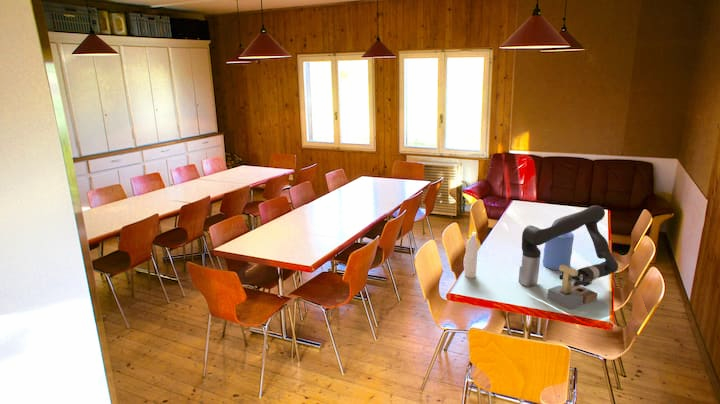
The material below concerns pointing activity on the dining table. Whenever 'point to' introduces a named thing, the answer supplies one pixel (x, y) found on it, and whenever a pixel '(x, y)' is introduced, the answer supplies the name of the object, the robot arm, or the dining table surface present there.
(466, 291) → the dining table surface
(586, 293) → the block
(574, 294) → the block
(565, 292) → the t key
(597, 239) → the robot arm
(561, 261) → the water jug
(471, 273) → the water bottle
